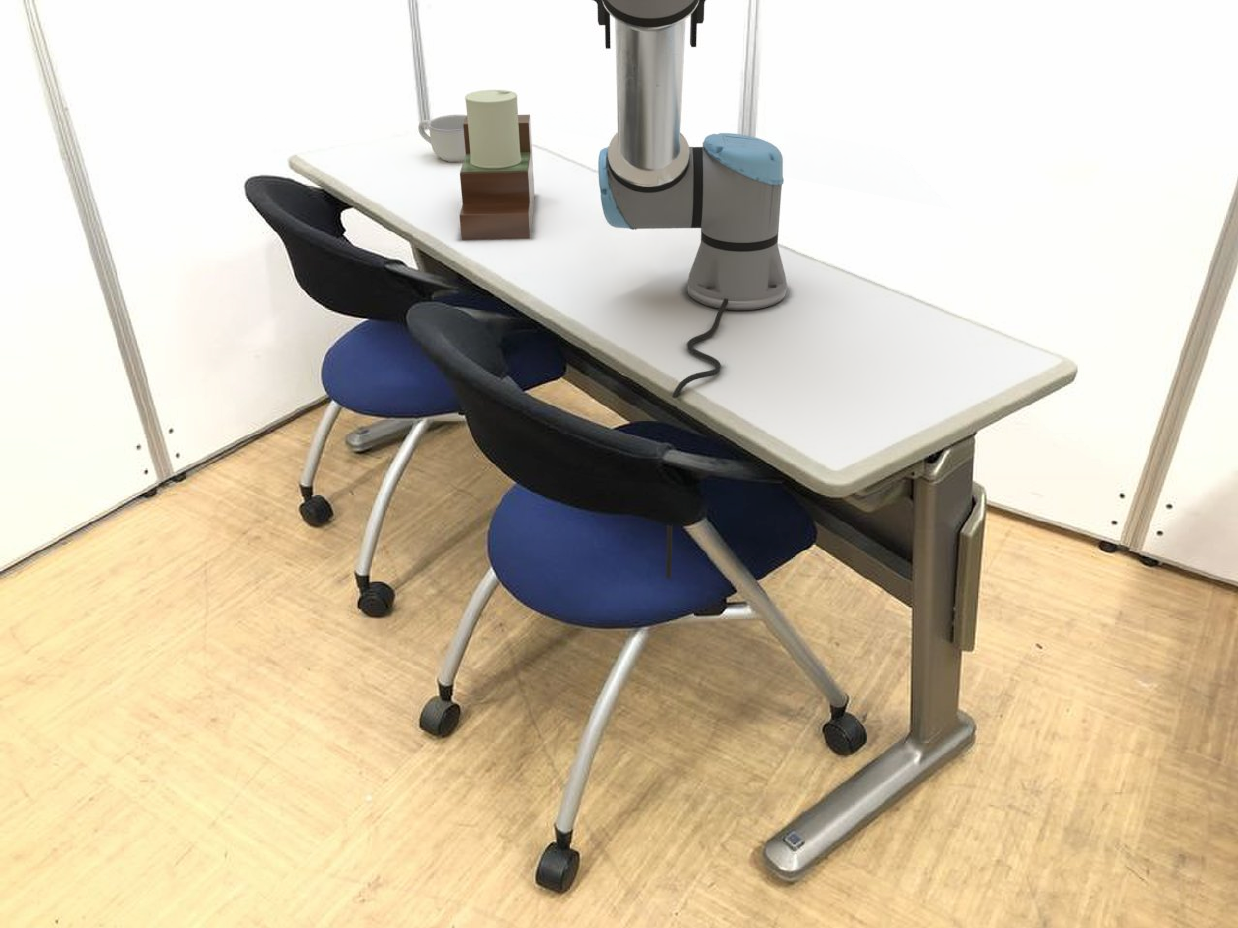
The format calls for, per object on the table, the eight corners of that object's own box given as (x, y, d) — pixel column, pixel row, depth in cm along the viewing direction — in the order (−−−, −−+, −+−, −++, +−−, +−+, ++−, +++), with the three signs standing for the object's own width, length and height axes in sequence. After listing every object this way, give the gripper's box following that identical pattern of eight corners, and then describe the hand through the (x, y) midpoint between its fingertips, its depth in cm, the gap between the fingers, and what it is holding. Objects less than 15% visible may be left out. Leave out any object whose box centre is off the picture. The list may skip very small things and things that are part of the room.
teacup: (491, 155, 228) (489, 118, 224) (460, 168, 220) (456, 129, 216) (442, 147, 235) (439, 110, 230) (410, 159, 227) (405, 121, 223)
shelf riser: (530, 238, 184) (525, 150, 176) (461, 240, 184) (453, 151, 175) (534, 195, 204) (530, 114, 196) (472, 197, 204) (465, 116, 196)
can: (532, 160, 189) (528, 92, 182) (494, 172, 183) (489, 101, 177) (497, 151, 194) (492, 84, 188) (459, 162, 188) (453, 93, 182)
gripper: (731, -108, 159) (725, 40, 170) (567, -106, 158) (572, 43, 170) (738, -105, 153) (731, 49, 164) (567, -102, 152) (572, 52, 163)
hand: (650, 46), depth 167 cm, fingers open, 13 cm apart
